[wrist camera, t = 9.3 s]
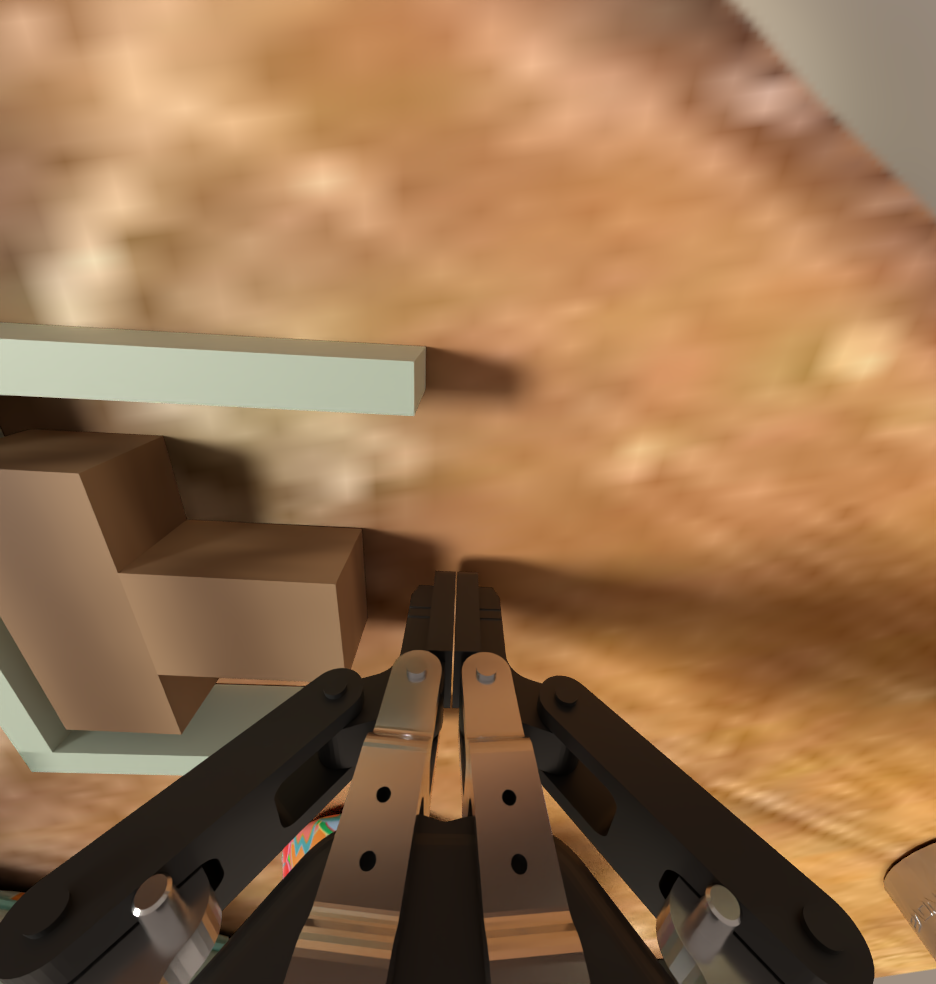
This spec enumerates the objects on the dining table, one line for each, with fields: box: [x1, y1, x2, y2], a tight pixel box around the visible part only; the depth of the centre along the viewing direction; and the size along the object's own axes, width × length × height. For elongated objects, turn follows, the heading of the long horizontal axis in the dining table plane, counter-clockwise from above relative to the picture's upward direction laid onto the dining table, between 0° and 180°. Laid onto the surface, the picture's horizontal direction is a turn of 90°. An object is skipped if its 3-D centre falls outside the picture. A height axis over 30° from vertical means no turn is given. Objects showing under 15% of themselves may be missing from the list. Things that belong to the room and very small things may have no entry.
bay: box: [0, 322, 426, 775], centre depth 13 cm, size 14×15×3 cm
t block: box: [0, 429, 368, 735], centre depth 13 cm, size 10×10×3 cm
